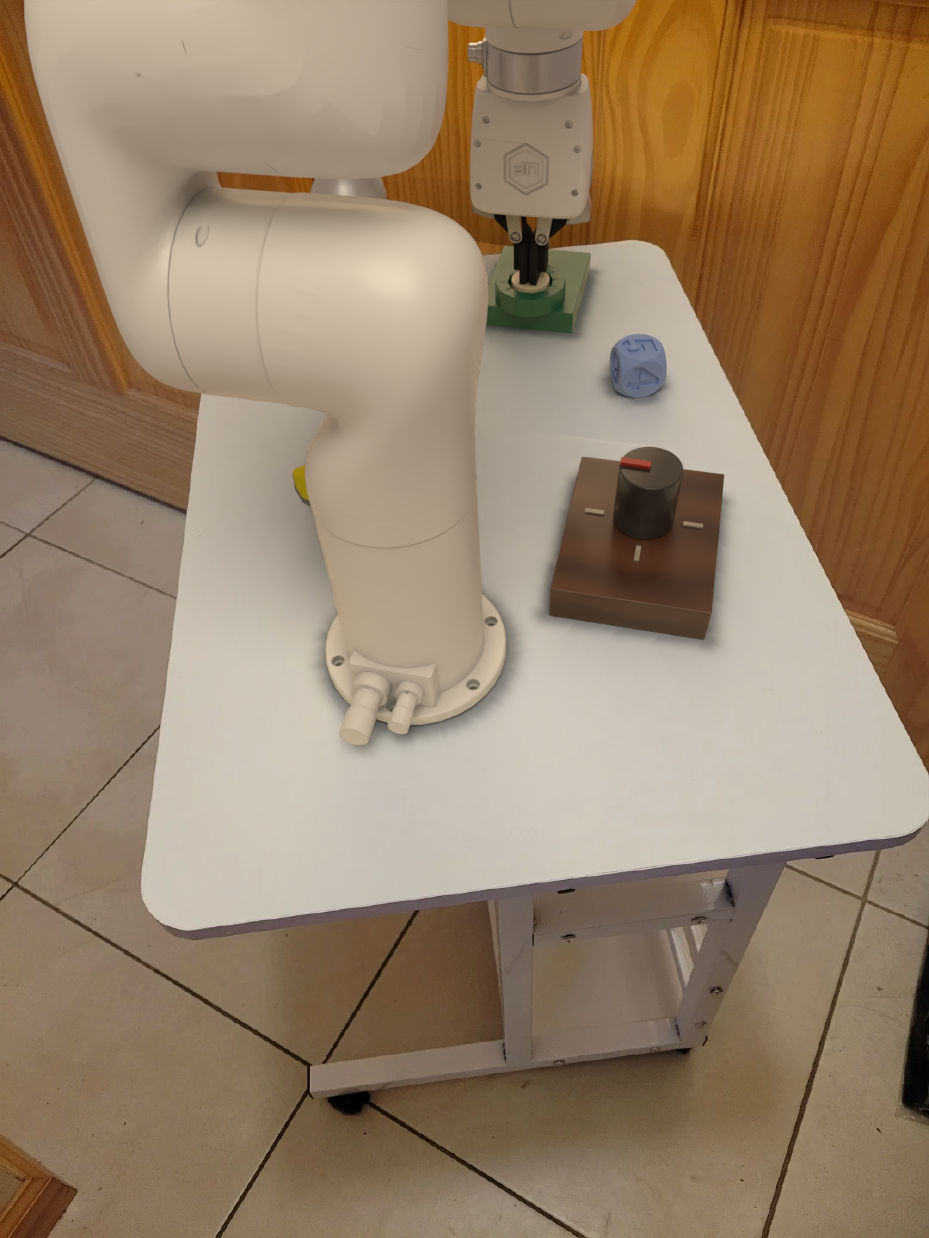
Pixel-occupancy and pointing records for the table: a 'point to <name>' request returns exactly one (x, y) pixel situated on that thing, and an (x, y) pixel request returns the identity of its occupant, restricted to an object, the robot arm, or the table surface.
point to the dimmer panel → (638, 558)
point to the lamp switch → (528, 288)
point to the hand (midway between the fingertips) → (530, 276)
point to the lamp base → (539, 293)
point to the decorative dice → (638, 365)
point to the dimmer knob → (647, 492)
